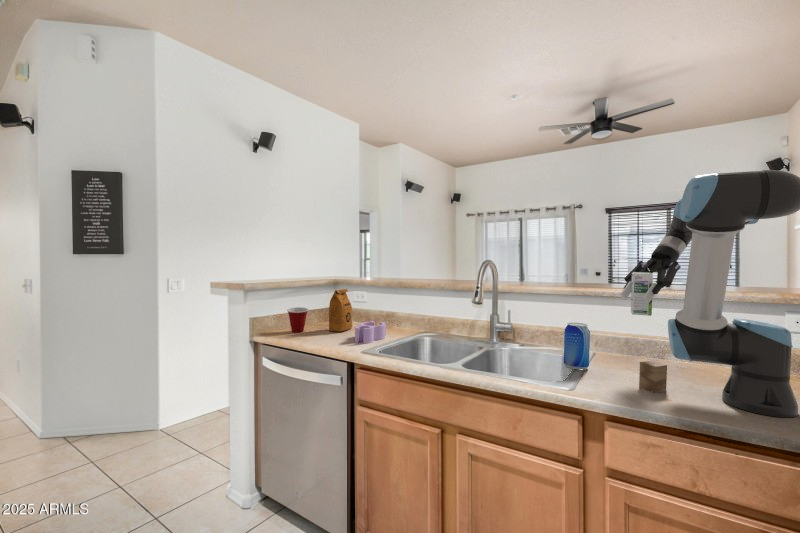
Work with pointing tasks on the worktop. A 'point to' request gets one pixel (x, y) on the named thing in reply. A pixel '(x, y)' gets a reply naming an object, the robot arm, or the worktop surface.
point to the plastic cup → (297, 318)
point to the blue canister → (576, 346)
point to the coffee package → (340, 312)
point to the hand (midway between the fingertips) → (634, 298)
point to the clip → (370, 332)
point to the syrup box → (641, 293)
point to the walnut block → (653, 376)
